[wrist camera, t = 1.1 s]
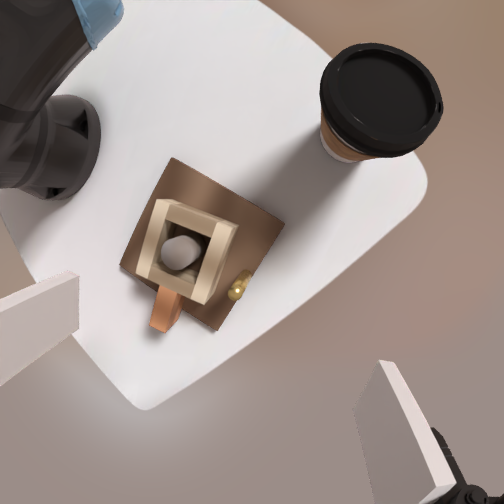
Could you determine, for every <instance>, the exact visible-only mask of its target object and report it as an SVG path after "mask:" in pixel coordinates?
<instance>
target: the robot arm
mask: <svg viewBox="0 0 504 504" xmlns="http://www.w3.org/2000/svg"><path fill="white" fill-rule="evenodd" d="M123 14H124V7H123V3H122V1H121V0H0V189H1V188H18V189H20V190H23V191H25V192H27V193H29V194H31V195H33V196H36V197H38V198H40V199H43V200H61V199H65V198H68V197H70V196H71V195H73V194H74V193H76V192H77V191H78V190H79V189H80V188H81V187H82V186H83V184H84V183H85V182H86V180H87V179H88V177H89V175H90V173H91V171H92V169H93V167H94V165H95V162H96V159H97V156H98V152H99V147H100V139H101V129H100V122H99V118H98V115H97V112H96V110H95V109H94V107H93V106H92V105H91V104H90V103H89V102H88V101H86V100H84V99H82V98H79V97H77V96H74V95H56V96H51V95H52V94H53V93H54V92H55V90H56V89H57V88H58V87H59V86H60V84H61V83H62V82H63V81H64V80H65V79H66V77H67V76H68V75H69V74H70V73H71V72H72V71H73V69H74V68H75V67H76V66H77V65H78V64H79V63H80V62H81V61H82V60H83V59H84V58H85V57H86V56H87V55H88V54H89V53H90V52H91V51H92V50H93V51H94V50H95V49H96V48H97V45H98V43H99V42H100V41H101V40H102V39H103V38H104V37H105V36H106V35H107V34H108V33H109V32H110V31H111V30H112V29H113V28H114V27H115V26H117V24H118V23H119V22H120V21H121V19H122V17H123ZM78 329H79V275H77V274H75V273H72V272H70V271H65V272H63V273H60V274H58V275H55V276H53V277H51V278H48V279H46V280H43V281H41V282H39V283H36V284H34V285H32V286H29V287H27V288H25V289H22V290H20V291H18V292H15V293H13V294H11V295H8V296H6V297H4V298H2V299H0V386H1V385H3V384H4V383H5V382H7V381H8V380H9V379H10V378H12V377H13V376H15V375H16V374H17V373H19V372H20V371H21V370H23V369H24V368H25V367H27V366H28V365H29V364H31V363H32V362H33V361H35V360H36V359H37V358H39V357H40V356H42V355H43V354H44V353H46V352H47V351H49V350H50V349H51V348H53V347H54V346H55V345H57V344H58V343H60V342H61V341H62V340H64V339H65V338H67V337H68V336H69V335H71V334H72V333H74V332H75V331H77V330H78ZM353 412H354V417H355V420H356V424H357V428H358V432H359V436H360V440H361V444H362V448H363V452H364V457H365V461H366V465H367V470H368V474H369V479H370V483H371V488H372V493H373V497H374V502H375V504H504V494H503V495H502V496H501V497H488V496H487V493H486V492H485V491H484V490H483V489H482V488H480V487H479V486H476V485H467V484H466V481H465V480H464V477H463V475H462V473H461V471H460V469H459V467H458V465H457V463H456V461H455V459H454V457H453V456H452V453H451V451H450V449H449V448H448V445H447V444H446V442H445V440H444V438H443V436H442V435H441V434H440V433H439V432H438V431H437V430H436V429H435V428H430V427H429V425H428V423H427V421H426V419H425V417H424V416H423V414H422V412H421V410H420V408H419V406H418V404H417V402H416V401H415V399H414V397H413V395H412V393H411V392H410V390H409V388H408V386H407V384H406V383H405V381H404V379H403V377H402V376H401V374H400V372H399V370H398V369H397V367H396V365H395V363H394V362H389V361H383V360H378V362H377V364H376V366H375V368H374V370H373V372H372V374H371V376H370V378H369V380H368V382H367V384H366V386H365V388H364V390H363V391H362V393H361V395H360V397H359V399H358V401H357V402H356V404H355V406H354V408H353Z"/></svg>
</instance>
